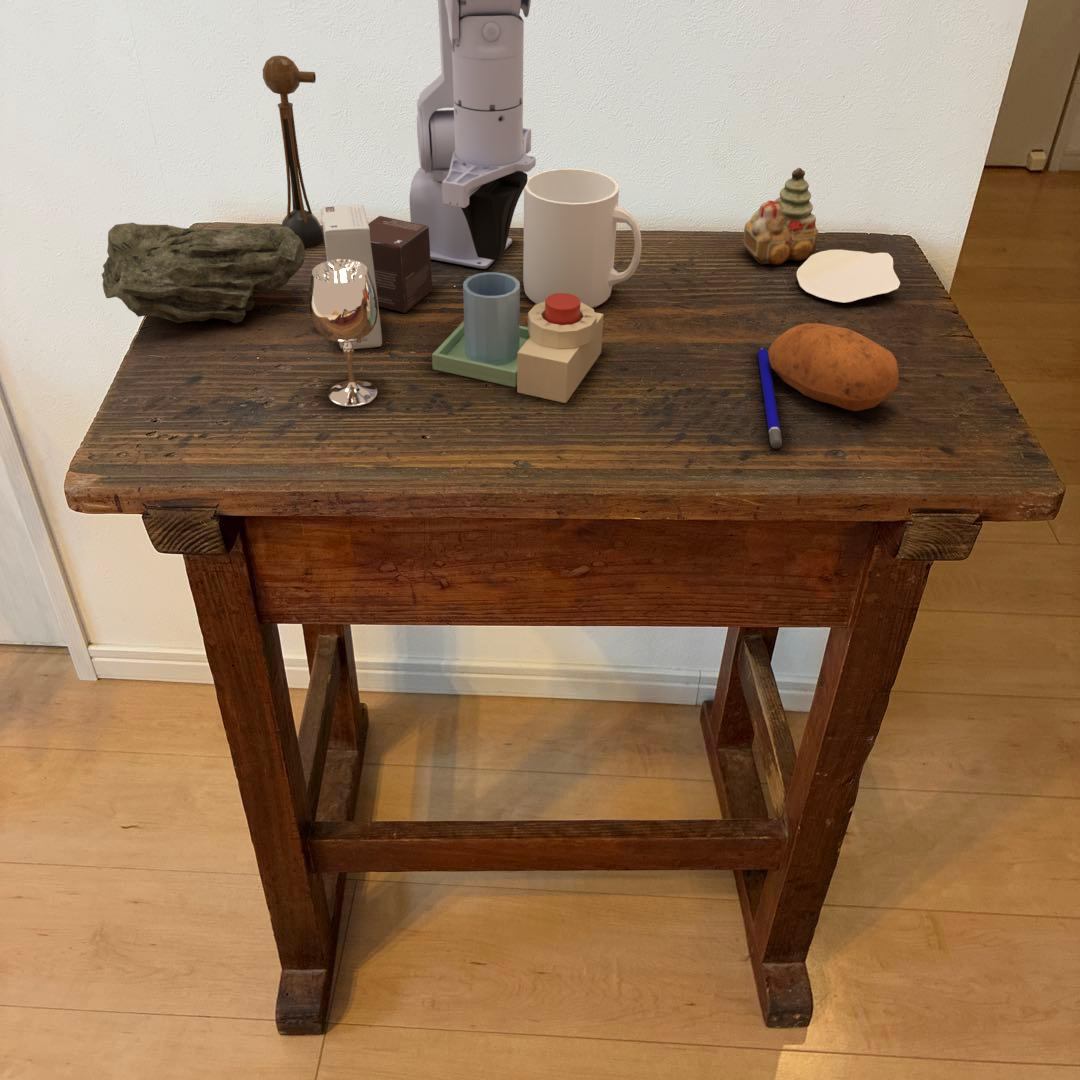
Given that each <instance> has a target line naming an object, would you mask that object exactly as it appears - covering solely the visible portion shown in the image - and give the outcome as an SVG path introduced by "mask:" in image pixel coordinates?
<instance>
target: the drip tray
mask: <svg viewBox="0 0 1080 1080" xmlns="http://www.w3.org/2000/svg"><path fill="white" fill-rule="evenodd" d="M529 338H530V335H529V332H528V326H523V325H520V346H519V350H520V349H521V348H522V346H523V345H524V344H525V343H526V341H527V340H528V339H529ZM431 363H432V364H431V366H432V370H434V371H439V372H444V373H448V374H452V375H457V376H462V377H466V378H471V379H476V380H479V381H480V380H481V381H485V382H489V383H493V384H497V385H503V386H507V387H511V388H517V358H516V359H515V360H513V361H511V362H509V363H506V364H502V365H490V364H486V363H481V362H477V361H472V360H470V359H469V358H468V357H467V356H466V353H465V334H464V320H463V321H462V322H461V323H460V324H459V325H458V326H457V327H456V328H455V329H454V330H453V332H451V334H450V335H449V336H448V337H447V338H446V339H445V340H444V341H443V342H442V343H441V344H440V345H439V346H438V347H437V349H435V351H433V353H432V354H431Z"/></svg>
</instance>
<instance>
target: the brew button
mask: <svg viewBox="0 0 1080 1080" xmlns="http://www.w3.org/2000/svg"><path fill="white" fill-rule="evenodd" d="M580 303H581V301H580V299H579V298H578V297H576V296H574V295H572V294H567V293H557V294H553V295H550V296H548V297H547V298H546V300H545V320H546V321H548V322H549V323H553V324H558V325H571V324H574V323H577V322H579V320H580Z"/></svg>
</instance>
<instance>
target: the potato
mask: <svg viewBox="0 0 1080 1080" xmlns="http://www.w3.org/2000/svg"><path fill="white" fill-rule="evenodd" d="M767 352H768V356H769V362H770V368H772V370H773V371H774V372H775V374H776V375H777V376H778V377H779V379H781V380H782V381H783V382H784V383H786V384H787V385H789V386H790V387H792V388H794V389H795V390H796V391H798V392H800V393H801V394H802V395H804V396H805V397H807V398H809V399H812V400H814V401H818V402H821V403H825V404H830V405H833V406H835V407H839V408H841V409H843V410H846V411H851V412H859V411H864V410H868V409H871V408H872V409H873V408H875V407H877V406H878V405H880V404H881V403H883V402H884V401H885V400H886V399H888V398H889V397H890V396H891V395H892V394H893V393H894V392H895V390H897V388H898V387H899V378H900V377H899V375H900V374H899V367H898V366H899V365H898V360H897V359H896V357H895V356H894V354H893V352H892V351H890V350H889V349H887V348H885V347H884V346H882V345H881V344H879V343H877V342H875V341H873V340H872V339H870V338H868V337H866V336H865V335H862V334H861V333H858V332H857V331H854V330H852V329H850V328H848V327H847V328H846V327H840V326H836V325H831V324H825V323H817V322H814V323H813V322H812V323H802V324H801V323H800V324H798V325H795V326H792V327H791V328H789V329H786V331H785V332H783V333H782V334H780V335H779V336H778V337H777V338H776V339H775V340H773V341H772V343H771V344H770V347H768V350H767Z"/></svg>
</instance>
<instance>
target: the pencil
mask: <svg viewBox="0 0 1080 1080" xmlns="http://www.w3.org/2000/svg"><path fill="white" fill-rule="evenodd" d="M757 358H758V366H759V373H760V380H761V386H762V394H763V401H764V409H765V415H766V416H765V417H766V423H767V428H768V437H769V443H770V444H769V445H770V446H771V448H772V449H776V450H777V449H780V448H781V447H782V446H783V439H782V433H781V427H780V422H779V413H778V408H777V400H776V395H775V389H774V382H773V375H772V370H771V364H770V361H769V355H768V350H767V349H766V348H764V347H761V348H760V349H759V350H758V351H757Z"/></svg>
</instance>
